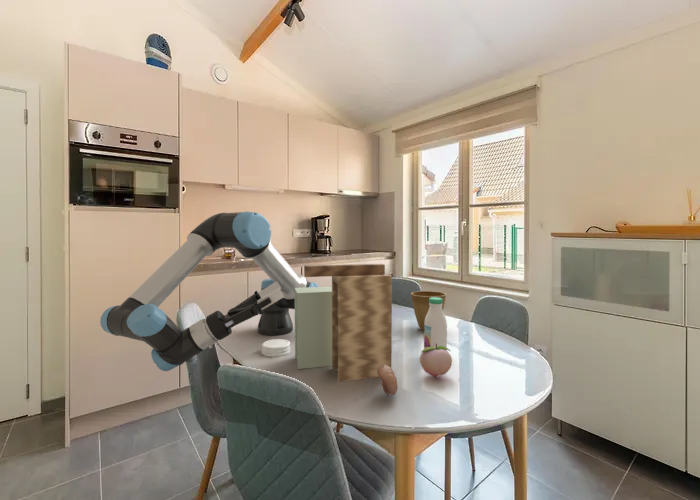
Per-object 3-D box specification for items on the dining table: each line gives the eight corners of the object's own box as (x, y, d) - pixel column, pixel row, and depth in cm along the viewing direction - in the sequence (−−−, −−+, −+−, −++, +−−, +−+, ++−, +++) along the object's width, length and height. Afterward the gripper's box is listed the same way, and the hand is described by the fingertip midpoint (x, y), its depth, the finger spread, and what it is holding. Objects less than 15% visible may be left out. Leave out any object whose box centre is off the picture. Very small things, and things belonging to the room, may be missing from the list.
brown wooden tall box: (339, 381, 98) (338, 277, 97) (332, 368, 108) (331, 273, 106) (391, 375, 102) (391, 275, 101) (380, 363, 112) (380, 271, 110)
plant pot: (449, 327, 154) (450, 292, 153) (439, 336, 141) (439, 297, 140) (418, 323, 161) (418, 289, 161) (405, 330, 149) (405, 294, 148)
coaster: (294, 349, 126) (294, 339, 126) (282, 358, 116) (282, 348, 116) (270, 346, 129) (270, 337, 129) (256, 356, 119) (256, 346, 119)
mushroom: (384, 387, 94) (384, 358, 94) (404, 392, 91) (404, 363, 91) (370, 398, 88) (370, 368, 88) (392, 405, 85) (392, 373, 84)
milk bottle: (447, 352, 122) (448, 296, 121) (445, 360, 114) (446, 301, 113) (425, 350, 124) (425, 295, 123) (422, 357, 117) (423, 299, 116)
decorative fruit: (432, 386, 95) (432, 350, 95) (415, 374, 103) (415, 342, 102) (458, 380, 99) (459, 346, 98) (440, 369, 106) (441, 338, 106)
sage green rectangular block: (298, 369, 107) (297, 293, 106) (295, 357, 117) (294, 288, 116) (335, 365, 110) (335, 291, 109) (329, 354, 120) (329, 286, 119)
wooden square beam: (305, 277, 98) (305, 266, 98) (304, 275, 101) (304, 265, 100) (384, 274, 104) (384, 264, 104) (381, 273, 107) (381, 263, 106)
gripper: (224, 328, 106) (284, 292, 110) (212, 355, 82) (290, 308, 86) (211, 308, 105) (272, 272, 109) (195, 330, 81) (274, 283, 85)
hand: (280, 288), depth 98 cm, fingers open, 13 cm apart
